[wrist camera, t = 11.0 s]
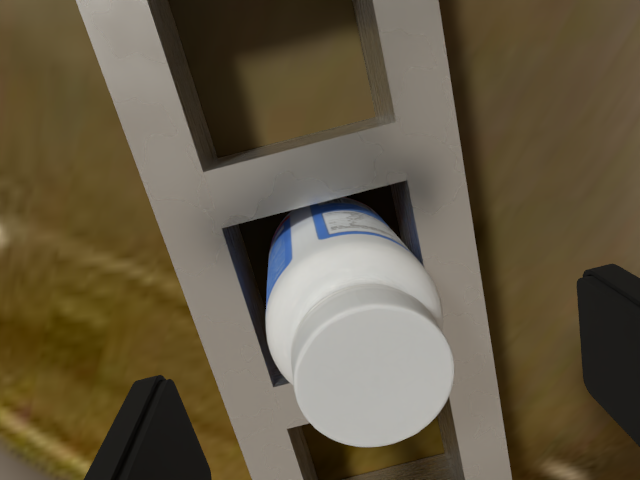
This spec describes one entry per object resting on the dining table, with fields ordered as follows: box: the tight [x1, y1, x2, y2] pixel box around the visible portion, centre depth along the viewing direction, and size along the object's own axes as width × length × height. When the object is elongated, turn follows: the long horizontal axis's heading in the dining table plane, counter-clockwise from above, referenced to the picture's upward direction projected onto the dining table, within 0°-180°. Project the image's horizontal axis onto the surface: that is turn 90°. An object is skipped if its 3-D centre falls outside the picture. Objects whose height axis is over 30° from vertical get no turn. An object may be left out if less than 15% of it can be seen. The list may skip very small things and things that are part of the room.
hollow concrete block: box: [76, 0, 512, 480], centre depth 19 cm, size 28×11×4 cm, turn 14°
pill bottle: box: [266, 197, 454, 447], centre depth 16 cm, size 6×5×10 cm
